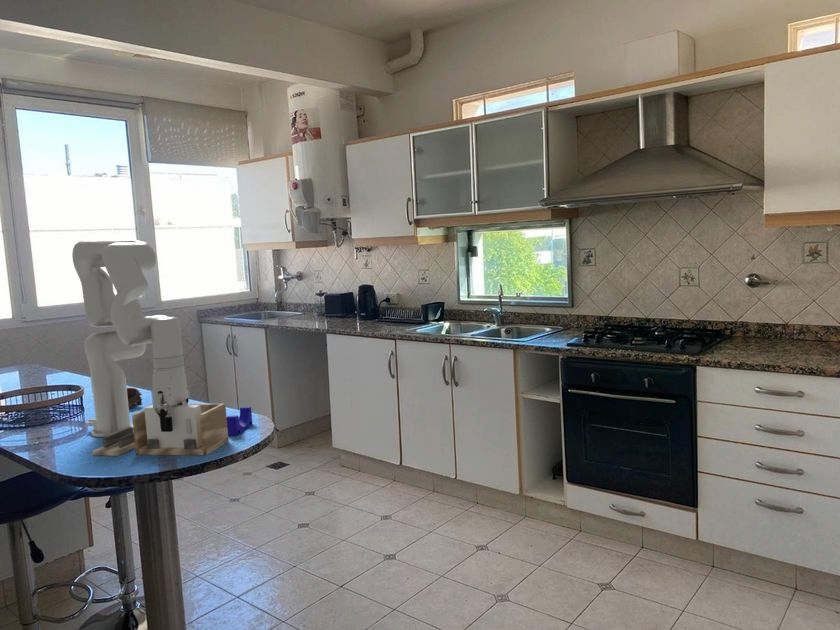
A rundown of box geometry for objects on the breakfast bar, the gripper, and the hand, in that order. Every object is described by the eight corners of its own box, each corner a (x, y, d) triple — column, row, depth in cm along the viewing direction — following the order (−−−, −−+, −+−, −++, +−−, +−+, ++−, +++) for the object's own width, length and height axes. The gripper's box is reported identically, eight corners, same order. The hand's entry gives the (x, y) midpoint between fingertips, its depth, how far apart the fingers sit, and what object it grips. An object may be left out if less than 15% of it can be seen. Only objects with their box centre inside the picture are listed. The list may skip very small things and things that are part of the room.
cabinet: (136, 454, 172) (132, 414, 171) (161, 441, 184) (158, 404, 183) (206, 455, 168) (203, 414, 167) (228, 441, 180) (225, 403, 179)
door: (146, 448, 172) (142, 408, 171) (154, 444, 176) (150, 405, 175) (196, 448, 169) (193, 408, 168) (204, 444, 173) (200, 404, 172)
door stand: (92, 455, 174) (91, 442, 173) (134, 436, 191) (132, 424, 191) (118, 455, 172) (117, 442, 172) (158, 436, 190) (156, 424, 189)
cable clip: (238, 425, 197) (237, 407, 197) (252, 425, 197) (251, 406, 196) (222, 437, 185) (221, 417, 185) (237, 437, 185) (235, 416, 184)
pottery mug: (150, 404, 234) (146, 387, 229) (135, 422, 226) (130, 404, 222) (121, 398, 236) (116, 381, 231) (105, 415, 228) (100, 398, 224)
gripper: (174, 357, 180) (180, 419, 182) (136, 369, 163) (143, 436, 165) (198, 357, 178) (204, 419, 180) (162, 368, 161) (169, 436, 163)
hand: (174, 426), depth 172 cm, fingers open, 6 cm apart
